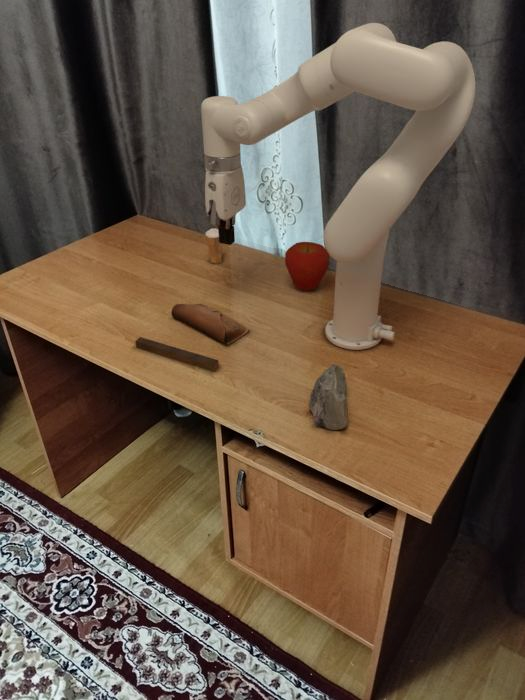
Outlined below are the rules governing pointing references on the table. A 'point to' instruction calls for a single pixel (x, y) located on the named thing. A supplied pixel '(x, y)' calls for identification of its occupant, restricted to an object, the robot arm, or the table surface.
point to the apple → (307, 264)
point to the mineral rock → (330, 399)
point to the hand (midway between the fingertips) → (226, 242)
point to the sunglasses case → (210, 321)
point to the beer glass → (214, 245)
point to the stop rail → (177, 354)
